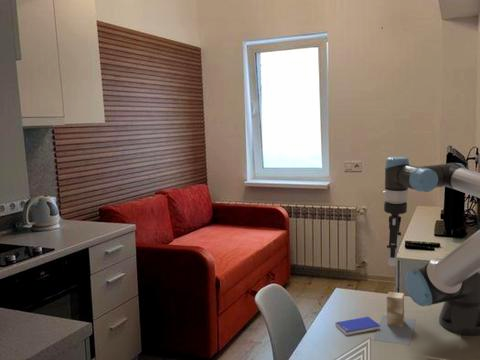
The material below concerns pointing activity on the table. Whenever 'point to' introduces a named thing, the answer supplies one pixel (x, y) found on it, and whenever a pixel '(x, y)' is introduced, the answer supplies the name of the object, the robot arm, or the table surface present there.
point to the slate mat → (395, 332)
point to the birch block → (395, 309)
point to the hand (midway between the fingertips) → (393, 259)
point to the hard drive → (357, 325)
